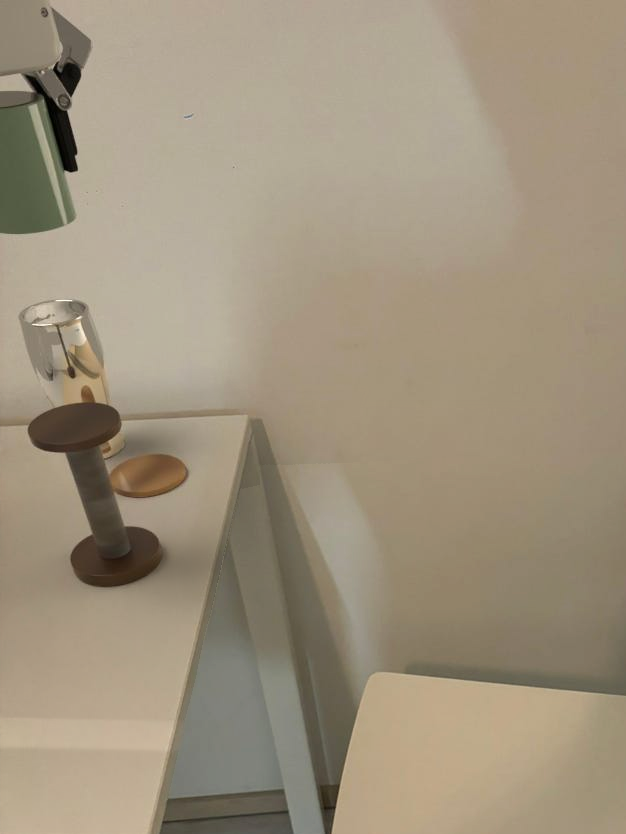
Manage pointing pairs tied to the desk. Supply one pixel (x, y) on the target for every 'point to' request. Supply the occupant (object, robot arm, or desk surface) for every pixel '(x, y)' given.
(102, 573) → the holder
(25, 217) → the cup
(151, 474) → the coaster
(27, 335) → the beer glass
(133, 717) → the desk surface
